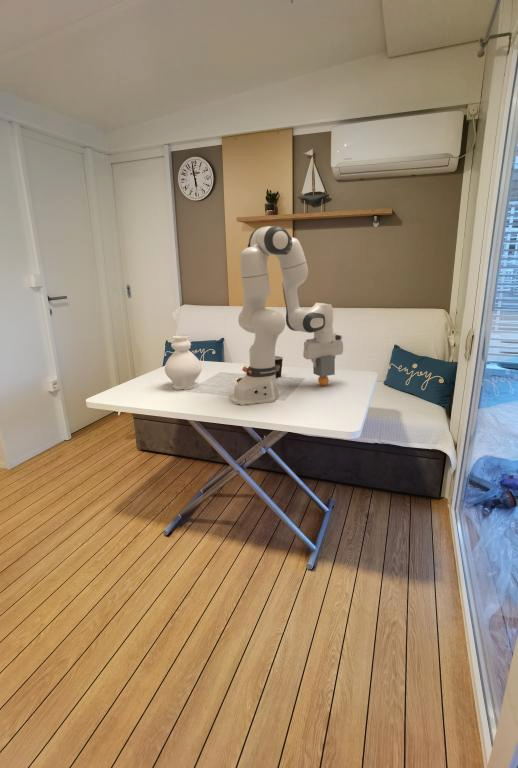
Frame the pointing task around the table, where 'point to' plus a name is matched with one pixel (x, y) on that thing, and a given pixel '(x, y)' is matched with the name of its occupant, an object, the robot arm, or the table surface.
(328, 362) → the grey block
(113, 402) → the table surface
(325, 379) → the ball
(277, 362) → the coffee mug
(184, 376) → the decorative vase
